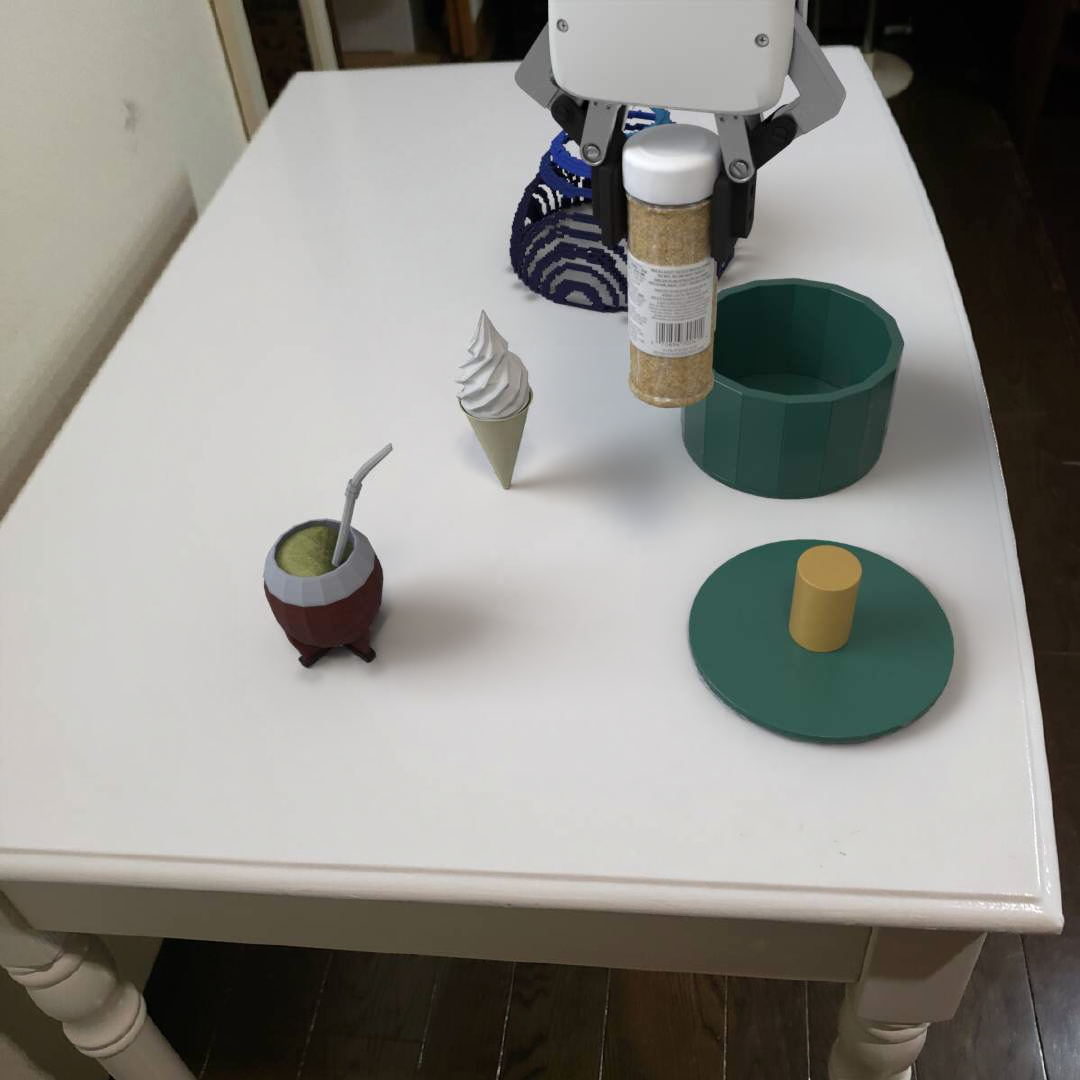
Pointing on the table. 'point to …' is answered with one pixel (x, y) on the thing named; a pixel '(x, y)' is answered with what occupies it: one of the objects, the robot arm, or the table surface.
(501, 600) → the table surface
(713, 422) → the tin
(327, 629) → the mate gourd
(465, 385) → the ice cream cone
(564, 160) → the decorative bowl
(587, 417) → the table surface
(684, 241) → the sprinkles bottle
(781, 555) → the lid
